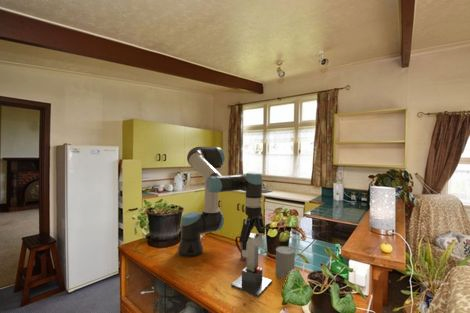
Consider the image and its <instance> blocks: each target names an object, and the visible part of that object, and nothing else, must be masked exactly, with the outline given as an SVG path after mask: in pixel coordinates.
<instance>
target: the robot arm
mask: <svg viewBox="0 0 470 313" xmlns="http://www.w3.org/2000/svg"><path fill="white" fill-rule="evenodd" d="M225 158H226V157H225V153H224V151H223V149H222V148H221V147H219V146H218V147H217V146H195V147H192V148H191V149H190V150H189V151H188V153H187V155H186V161H187V163H188V165H189V166H190V167H191V168H194V169H195V170H196V172H198V173H199V175H200V176H202V178H203V180H204V207H203V209H202V211H201V213H200V212H198V211H191V212H187V213H185V214H183V215H182V216H181V219H180V241H179V244H178V245H179V246H178V248H177V254H178V255H179V256H180V257H183V258H193V257H194V258H195V257H197V256H200V255H202V253H203V251H204V246H203V244H202V241H201V234H206V233H211V232H217V231H221V229H222V228H223V226H224V223H225V217H224V214H223V212H222V211H221V209H220V208H219V193H224V192H225V193H226V192H235V191H236V192H237V191H244V192H245V199H244V200H245V202H244V204H245V206H244V207H245V208H244V211H245V215H246V216H247V218H244V219H243V220H242V224H243V225H242V227H241V232H240V235H239V236H240V238H238V240H239V242H238V243H240V242H242V256H244V257H247V258H248V242H247V241H248V239H249V236H250V233H252V230H253V229H254V227H255V229H256V231H257V232H256V234H258V235H260V237H259V248H262V247H263V234H265V231H266V228H265V224H264V219H263V213H262V209H263V208H262V202H263V200H262V195H263V192H262V191H263V175H262V173H261V172H255V171H254V172H251V171H250V172H247V173H246V174H245V175H244V174H240V173H239V174H236V173H235V174H234V175H222V174H221V173H220V170H221V168H222V165H224V164H225Z"/></svg>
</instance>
